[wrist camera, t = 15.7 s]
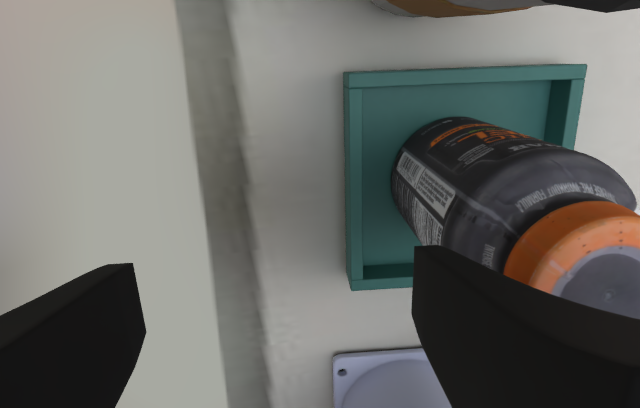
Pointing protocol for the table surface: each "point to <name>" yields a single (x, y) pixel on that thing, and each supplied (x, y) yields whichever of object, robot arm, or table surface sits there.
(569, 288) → the pill bottle
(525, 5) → the coffee cup
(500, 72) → the tray
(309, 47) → the table surface
